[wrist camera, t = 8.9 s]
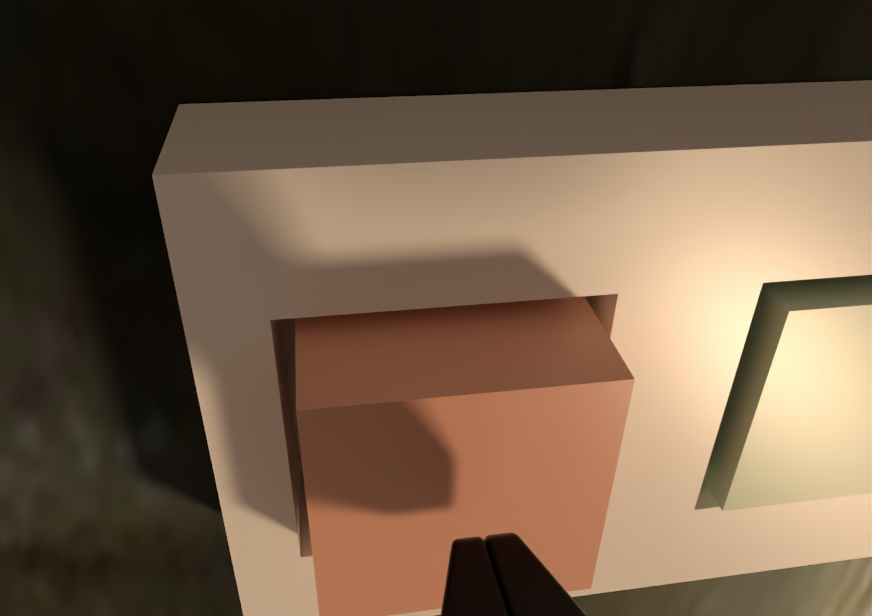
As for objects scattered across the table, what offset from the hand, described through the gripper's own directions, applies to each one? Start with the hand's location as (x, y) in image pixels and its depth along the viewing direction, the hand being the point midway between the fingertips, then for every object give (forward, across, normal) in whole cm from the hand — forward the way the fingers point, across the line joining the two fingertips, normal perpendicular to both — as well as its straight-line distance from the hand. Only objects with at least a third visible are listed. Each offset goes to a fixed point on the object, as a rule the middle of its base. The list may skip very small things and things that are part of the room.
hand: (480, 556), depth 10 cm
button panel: (+5, -7, 0) cm, 8 cm away
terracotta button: (+3, 0, 0) cm, 3 cm away
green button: (+4, -7, 0) cm, 8 cm away
